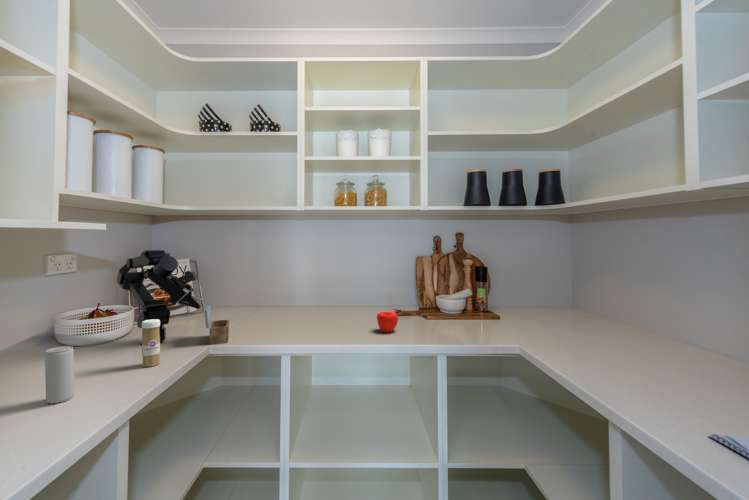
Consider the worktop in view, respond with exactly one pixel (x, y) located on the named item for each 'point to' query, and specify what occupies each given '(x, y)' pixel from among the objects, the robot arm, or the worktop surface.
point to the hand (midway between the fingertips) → (199, 307)
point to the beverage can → (59, 374)
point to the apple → (387, 321)
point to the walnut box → (219, 332)
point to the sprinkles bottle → (150, 342)
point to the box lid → (207, 316)
